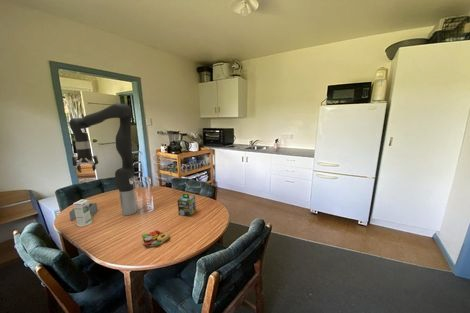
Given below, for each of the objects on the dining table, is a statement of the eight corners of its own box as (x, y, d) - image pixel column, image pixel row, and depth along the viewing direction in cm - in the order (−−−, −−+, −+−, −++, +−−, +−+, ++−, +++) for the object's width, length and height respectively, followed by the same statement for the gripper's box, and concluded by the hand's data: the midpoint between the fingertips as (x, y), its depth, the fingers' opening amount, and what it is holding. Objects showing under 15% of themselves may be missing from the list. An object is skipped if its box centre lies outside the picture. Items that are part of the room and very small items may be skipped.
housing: (97, 210, 140) (96, 202, 139) (90, 218, 130) (89, 209, 128) (79, 212, 137) (77, 204, 136) (70, 220, 127) (69, 211, 125)
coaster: (94, 219, 128) (94, 218, 128) (89, 225, 121) (89, 224, 121) (80, 220, 126) (80, 220, 126) (74, 227, 119) (74, 226, 119)
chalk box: (196, 210, 139) (195, 191, 136) (190, 216, 130) (188, 196, 127) (185, 209, 142) (183, 190, 139) (178, 215, 133) (176, 195, 130)
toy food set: (172, 240, 106) (172, 234, 106) (148, 252, 97) (148, 246, 96) (160, 230, 115) (160, 225, 114) (137, 241, 105) (137, 236, 105)
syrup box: (85, 224, 120) (81, 203, 117) (76, 224, 121) (72, 202, 118) (92, 220, 126) (89, 199, 123) (84, 219, 126) (80, 199, 124)
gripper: (97, 146, 136) (100, 168, 139) (73, 147, 132) (77, 170, 136) (92, 148, 129) (96, 171, 132) (67, 149, 125) (72, 173, 129)
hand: (87, 170), depth 134 cm, fingers open, 8 cm apart
